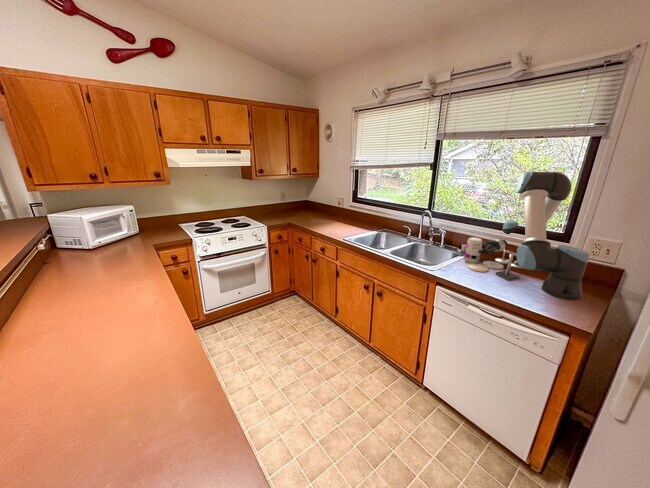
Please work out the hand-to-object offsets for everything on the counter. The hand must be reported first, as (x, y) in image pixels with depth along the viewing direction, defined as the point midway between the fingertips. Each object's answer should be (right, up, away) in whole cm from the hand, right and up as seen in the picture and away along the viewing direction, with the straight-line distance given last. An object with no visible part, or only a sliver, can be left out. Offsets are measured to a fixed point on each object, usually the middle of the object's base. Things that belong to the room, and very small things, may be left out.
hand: (467, 249), depth 167 cm
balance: (+13, -15, -17) cm, 26 cm away
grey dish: (+14, -10, -3) cm, 17 cm away
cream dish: (+2, -11, -6) cm, 13 cm away
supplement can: (+4, -8, +4) cm, 10 cm away
